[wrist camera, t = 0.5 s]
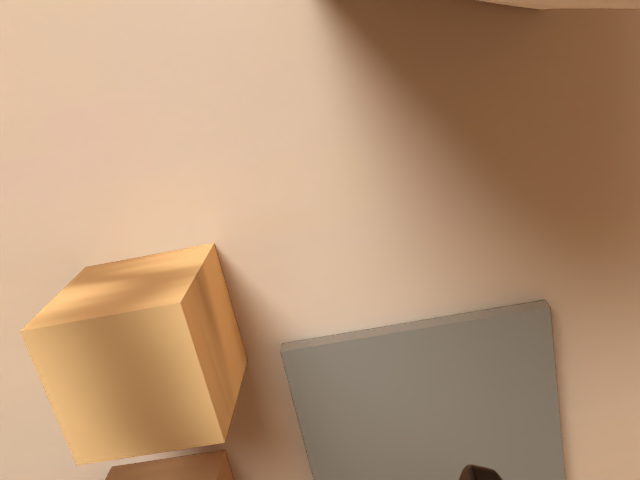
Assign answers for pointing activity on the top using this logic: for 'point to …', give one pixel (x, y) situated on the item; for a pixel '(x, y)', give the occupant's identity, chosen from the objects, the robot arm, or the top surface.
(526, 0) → the skincare box
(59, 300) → the oak cube
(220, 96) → the top surface
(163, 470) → the walnut cube
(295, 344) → the slate coaster
